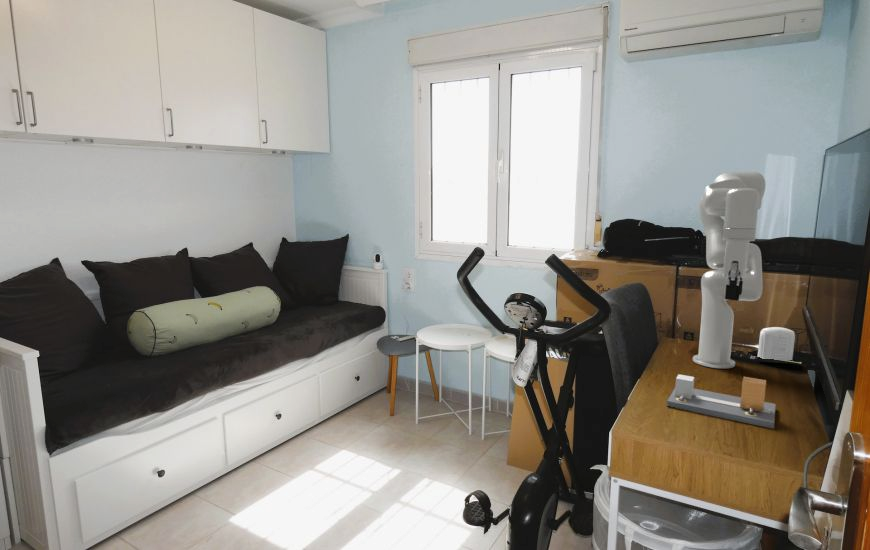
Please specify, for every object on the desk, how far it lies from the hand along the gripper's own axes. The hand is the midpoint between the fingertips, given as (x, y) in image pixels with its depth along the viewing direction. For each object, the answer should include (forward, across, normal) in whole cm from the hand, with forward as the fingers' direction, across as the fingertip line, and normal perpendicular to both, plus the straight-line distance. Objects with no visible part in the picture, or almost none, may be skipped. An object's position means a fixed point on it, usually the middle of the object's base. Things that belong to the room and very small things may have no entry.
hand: (733, 296), depth 141 cm
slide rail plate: (+28, +11, 0) cm, 30 cm away
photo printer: (+29, -42, +11) cm, 52 cm away
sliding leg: (+26, +12, +7) cm, 30 cm away
